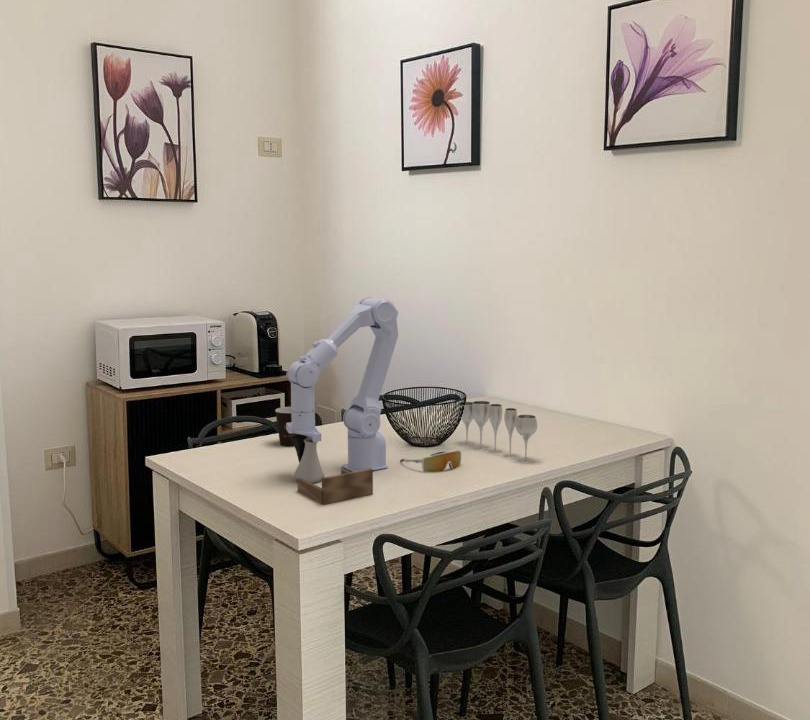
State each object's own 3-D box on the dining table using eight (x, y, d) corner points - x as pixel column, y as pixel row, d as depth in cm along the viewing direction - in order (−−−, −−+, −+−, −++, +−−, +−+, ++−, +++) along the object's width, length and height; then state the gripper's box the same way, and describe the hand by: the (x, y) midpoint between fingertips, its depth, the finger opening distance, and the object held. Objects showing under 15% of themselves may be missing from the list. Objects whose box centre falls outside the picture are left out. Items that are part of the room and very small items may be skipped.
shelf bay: (344, 481, 203) (344, 457, 202) (372, 494, 193) (372, 469, 192) (297, 490, 195) (297, 466, 194) (324, 504, 185) (323, 479, 184)
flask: (309, 469, 209) (311, 432, 206) (329, 478, 204) (332, 440, 202) (288, 477, 203) (289, 439, 200) (308, 486, 199) (310, 448, 196)
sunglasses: (428, 476, 207) (426, 456, 207) (394, 470, 220) (392, 452, 219) (471, 467, 216) (469, 448, 215) (436, 462, 228) (434, 444, 228)
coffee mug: (271, 446, 236) (270, 412, 234) (282, 439, 244) (282, 406, 242) (310, 449, 233) (309, 414, 231) (320, 441, 241) (319, 408, 240)
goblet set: (453, 444, 239) (454, 398, 237) (468, 440, 242) (468, 396, 240) (526, 464, 217) (527, 415, 215) (541, 460, 221) (542, 412, 219)
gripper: (275, 407, 207) (276, 460, 209) (302, 417, 195) (303, 473, 197) (300, 404, 211) (301, 455, 213) (328, 414, 199) (329, 468, 201)
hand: (304, 464), depth 205 cm, fingers closed
